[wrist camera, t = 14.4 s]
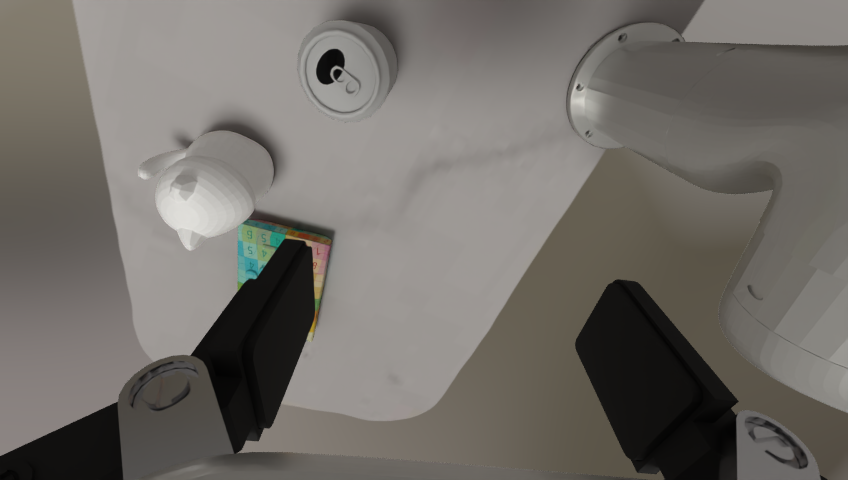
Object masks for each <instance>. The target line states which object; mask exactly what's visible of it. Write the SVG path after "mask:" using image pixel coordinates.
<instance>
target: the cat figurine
mask: <svg viewBox="0 0 848 480" xmlns="http://www.w3.org/2000/svg"><path fill="white" fill-rule="evenodd" d="M168 167H169V168H168ZM166 168H168V169H167V170H166V171H165V172H164V174H163V175H162V176H161V178H160V180H159V182H158V185H157V187H156V195H155V201H156V206H157V209H158V211H159V213H160V215H161V217H162V218H163V220H164V221H165V222H166V223H167V224H168V225H169V226H170V227H172V228H173V229H175V230H176V231H178V235H179V237H180V240H181V241H182V243H183V244H184V246H185V247H186V248H187V249H188V250H194V249H195V248H197V247H199V246H200V245H201V244H202V243H203V242H204V241H205V240H206V239H207V238H210V237H214V236H218V235H221V234H224V233H226V232H228V231H230V230H232V229H234V228H235V227H237V226H239V225H240V224H242V223H243V222H244V221H245V220H247V219H248V217H249V216H250V215H251V214H252V213H253V211H254V209H255V205H256V202H257V201H258V200H260V199H261V198H262V197H263V196H264V195H265V194H266V193H267V192H268V190H269V189H270V187H271V185H272V181H273V176H274V167H273V162H272V159H271V157H270V155H269V153H268V152H267V151H266V149H265V148H264V147H262V146H261V145H260V144H258V143H257V142H255V141H253V140H251V139H249V138H247V137H245V136H243V135H240V134H238V133H235V132H231V131H213V132H209V133H206V134H204V135H201V136H199V137H198V138H197V139H196V140H195V141H194V142H193V143H192V144H191V145H190V146H189V147H188V149H180V150H175V151H171V152H167V153H164V154H160V155H157V156H155V157H153V158H150V159H148V160H147V161H145V162H143V163H142V164H141V165H140V167H139V169H138V176H139V177H140V178H142V179H145V180H147V179H150V178H152V177H154V176H155V175H157V174H158V173H159V172H161V171H162V170H164V169H166Z"/></svg>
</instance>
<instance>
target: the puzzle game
mask: <svg viewBox="0 0 848 480" xmlns="http://www.w3.org/2000/svg"><path fill="white" fill-rule="evenodd" d="M286 238H287V239H295V240H303V241H305V242H306V245H307V246H311V247H312V252H313V272H314V293H315V318H314V321H313V324H312V327H311V329H310V332H309V334H308V337H307V339H306V341H309V342H312V340H313V337H314V333H315V328H316V323H317V318H318V312H319V307H320V302H321V297H322V291H323V286H324V281H325V276H326V270H327V265H328V260H329V255H330V249H331V244H332V240H330V239H329V238H328V237H326V236H323V235H319V234H315V233H311V232H307V231H303V230H299V229H296V228H292V227H288V226H284V225H280V224H276V223H272V222H268V221H264V220H260V219H247V220H245V221H244V222H243V223H242V224H240V225H239V226H238V290H239V289H240V288H241V286H242V285H243V284H244V283H245V282H246V281H247V280H248V279H256V278H257V277H258V275H259V274H260V272H261V271H262V270H263V268H264V267H265V265H266V264H267V262H268V261H269V260H270V258H271V257H272V255H273V254H274V252H275V251H276V250H277V248H278V247H279V245H280V244H281V242H282V241H283V240H284V239H286Z"/></svg>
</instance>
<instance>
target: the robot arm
mask: <svg viewBox="0 0 848 480" xmlns="http://www.w3.org/2000/svg"><path fill="white" fill-rule="evenodd" d="M619 36H620V40H618V37H619ZM577 84H579V86H578V88H576V86H577ZM567 112H568V117H569V121H570V123H571V125H572V127H573V129H574V130H575V132H576V133H577V134H578V135H579V136H580V137H581V138H582V139H583V140H585V141H586V142H588V143H590V144H591V145H593V146H597V147H600V148H607V149H616V148H623V147H627V148H629V149H631V150H633V151H634V152H636V153H638V154H640V155H641V156H643V157H645V158H647V159H648V160H650V161H652V162H654V163H655V164H657V165H659V166H661V167H662V168H664V169H666V170H668V171H669V172H671V173H673V174H675V175H677V176H679V177H681V178H682V179H684V180H686V181H688V182H690V183H692V184H693V185H695V186H698V187H700V188H702V189H705V190H708V191H712V192H716V193H724V194H748V193H757V192H764V191H769V190H773V191H772V195H771V198H770V200H769V202H768V204H767V206H766V208H765V210H764V212H763V214H762V216H761V218H760V223H759V224H758V226H757V228H756V230H755V232H754V234H753V236H752V238H751V239H750V241H749V243H748V245H747V247H746V249H745V251H744V253H743V254H742V256H741V258H740V260H739V262H738V264H737V266H736V268H735V269H734V271H733V273H732V275H731V278H730V280H729V282H728V283H727V286H726V288H725V290H724V292H723V295H722V297H721V300H720V304H719V313H718V315H719V322H720V326H721V328H722V331H723V333H724V335H725V336H726V338H727V339H728V341H729V342H730V344H731V345H732V346H733V347H734V348H735V349H736V350H737V351H738V352H739V353H740V354H741V355H742V356H743V357H744V358H745V359H747V360H748V361H749V362H751V363H752V364H753V365H754V366H756V367H757V368H759V369H760V370H761V371H763V372H765V373H766V374H768V375H769V376H771V377H773V378H774V379H776V380H778V381H779V382H781V383H783V384H785V385H787V386H789V387H791V388H793V389H794V390H796V391H798V392H801V393H803V394H805V395H807V396H809V397H811V398H814V399H816V400H818V401H821V402H823V403H825V404H827V405H829V406H832V407H834V408H837V409H839V410H842V411H844V412H847V413H848V45H845V46H802V45H759V44H730V43H699V42H685V40H684V38H683V37H682V36H681V35H680V34H679V33H678V32H677V31H676V30H674V29H672V28H671V27H669V26H667V25H664V24H659V23H637V24H631V25H628V26H625V27H622V28H620V29H618V30H616V31H614V32H612V33H610V34H608V35H607V36H606V37H604V38H603V39H602V40H600V41H599V42H598V43H597V44H596V45H595V46H594V47H593V48H592V49H591V50H590V51H589V52H588V53H587V54H586V55H585V57H584V58H583V60H582V61H581V62H580V64H579V65H578V67H577V69H576V71H575V73H574V75H573V77H572V80H571V83H570V86H569V90H568V96H567ZM587 131H588V132H587ZM586 132H587V133H586ZM585 133H586V134H585ZM314 318H315V293H314V272H313V252H312V247H311V246H307V245H306V242H305V241H303V240H295V239H287V238H286V239H284V240H283V241H282V242H281V244H280V245H279V247H278V248H277V250H276V251H275V252H274V254H273V255H272V257H271V258H270V260H269V261H268V262H267V264H266V265H265V267H264V268H263V270H262V271H261V272H260V274H259V275H258V277H257V278H256V279H248V280H247V281H246V282H245V283H244V284H243V285H242V286H241V288H240V289H239V290H238V292H237V293H236V294H235V296H234V297H233V298H232V300H231V301H230V303H229V304H228V305H227V307H226V308H225V309H224V311H223V312H222V313H221V315H220V316H219V317H218V319H217V320H216V322H215V323H214V324H213V326H212V327H211V328H210V330H209V331H208V332H207V334H206V335H205V336H204V338H203V339H202V340H201V342H200V343H199V345H198V346H197V347H196V349H195V350H194V351H193V353H192V354H191V355H190V356H188V355H177V356H170V357H167V358H163V359H160V360H158V361H156V362H153V363H151V364H149V365H147V366H146V367H144V368H143V369H141V370H140V371H138V372H137V373H136V374H134V376H133V377H132V378H131V379H130V380H129V381H128V382H127V383H126V384H125V385H124V387H123V389H122V391H121V392H120V394H119V399H118V402H116V403H114V404H112V405H110V406H107V407H105V408H103V409H101V410H99V411H97V412H94V413H92V414H90V415H88V416H86V417H84V418H82V419H80V420H77V421H75V422H73V423H71V424H69V425H66V426H64V427H62V428H60V429H58V430H56V431H53V432H51V433H49V434H47V435H45V436H43V437H41V438H39V439H36V440H34V441H32V442H30V443H28V444H25V445H23V446H21V447H19V448H17V449H15V450H13V451H10V452H8V453H6V454H4V455H2V456H0V480H646V479H634V478H623V477H611V476H598V475H588V474H576V473H564V472H551V471H540V470H526V469H515V468H502V467H490V466H478V465H465V464H451V463H439V462H425V461H412V460H400V459H386V458H373V457H360V456H343V455H342V456H341V455H325V454H308V453H290V452H289V453H288V452H284V453H283V452H249V453H238V452H239V451H241V450H242V448H243V446H244V444H245V441H246V440H249V441H259V439H260V437H261V434H262V432H263V429H264V428H270V427H271V426H272V424H273V422H274V419H275V417H276V415H277V412H278V410H279V407H280V405H281V402H282V400H283V397H284V395H285V392H286V390H287V387H288V385H289V382H290V380H291V377H292V374H293V372H294V369H295V367H296V364H297V362H298V359H299V357H300V354H301V352H302V349H303V347H304V344H305V342H306V339H307V337H308V334H309V332H310V329H311V327H312V324H313V321H314ZM575 346H576V351H577V353H578V355H579V357H580V359H581V362H582V364H583V366H584V368H585V370H586V372H587V375H588V376H589V379H590V381H591V383H592V385H593V387H594V389H595V392H596V394H597V396H598V398H599V400H600V402H601V405H602V406H603V409H604V411H605V413H606V415H607V417H608V419H609V422H610V424H611V426H612V428H613V430H614V432H615V435H616V437H617V439H618V441H619V443H620V445H621V447H622V449H623V451H624V453H625V455H626V456H627V457H628V458H629V459H631V461H632V463H633V465H634V467H635V469H636V471H637V472H638V473H648V474H657V473H658V472H659V471H661V472H662V474H663V476H664V480H827V479H826V478H824V477H822V476H821V475H819V470H818V466H817V463H816V461H815V459H814V456H813V455H812V454H811V452H810V451H809V450H808V448H807V447H806V446H805V445H804V444H803V443H802V442H801V441H800V440H799V439H798V437H797V436H795V435H794V434H793V433H792V432H790V431H789V430H788V429H787V428H786V427H784V426H783V425H781V424H779V423H778V422H776V421H775V420H773V419H771V418H769V417H767V416H765V415H763V414H761V413H758V412H754V411H747V410H746V411H745V410H743V411H741V412H739V413H738V414H737V415H735V413H734V412H733V411H732V410H731V408H732V407H733V406H734V405H735V404H736V403H737V402H738V400H737V399H736V398H735V397H734V395H733V394H732V393H731V392H730V391H729V389H728V388H727V387H726V386H725V385H724V384H723V383H722V381H721V380H720V379H719V378H718V376H717V375H716V374H715V373H714V372H713V370H712V369H711V368H710V367H709V366H708V364H707V363H706V362H705V361H704V360H703V359H702V357H701V356H700V355H699V354H698V353H697V351H696V350H695V349H694V348H693V347H692V346H691V345H690V343H689V342H688V341H687V340H686V338H685V337H684V336H683V335H682V334H681V333H680V331H679V330H678V329H677V328H676V327H675V326H674V324H673V323H672V322H671V321H670V320H669V318H668V317H667V316H666V315H665V314H664V312H663V311H662V310H661V309H660V308H659V306H658V305H657V304H656V303H655V302H654V300H653V299H652V298H651V297H650V296H649V295H648V294H647V292H646V291H645V290H644V289H643V287H642V286H641V285H640V284H639V283H638V282H635V281H627V280H615V281H614V282H613V283H610V284H609V285H608V286H607V287H606V289H605V291H604V292H603V294H602V296H601V298H600V299H599V301H598V303H597V304H596V306H595V308H594V310H593V311H592V313H591V315H590V317H589V318H588V320H587V322H586V323H585V325H584V327H583V329H582V330H581V332H580V334H579V336H578V337H577V339H576V343H575ZM236 453H237V454H236Z"/></svg>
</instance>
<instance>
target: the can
mask: <svg viewBox="0 0 848 480" xmlns="http://www.w3.org/2000/svg"><path fill="white" fill-rule="evenodd" d="M297 71H298V75H299V80H300V84H301V87H302V89H303V91H304V92H305V94H306V96H307V98H308V100H309V101H310V102H311V103H312V104H313V105H314V106H315V107H316V108H317V110H318V111H320V112H321V113H323V114H324V115H326V116H328V117H329V118H331V119H334V120H337V121H341V122H345V123H346V122H359V121H361V120H364V119H366V118H369V117H371V116H372V115H373V114H374V113H375V112H376V111H377V110H378V109H379V108H380V107H381V106H382V104H383V102H384V101H385V99H386V97H387V96H388V94H389V92H390V90H391V89H392V87H393V85H394V83H395V81H396V76H397V71H398V67H397V57H396V54H395V51H394V49H393V46H392V44H391V43H390V42H389V40H388V39H387V37H386V36H385V35H384V34H383V33H382V32H380V31H379V30H377V29H376V28H375V27H372V26H369V25H366V24H363V23H357V22H351V21H345V20H336V21H326V22H324V23H322V24H320V25H318V26H316V27H314V28H313V29H312V30H311V31H310V32H309V34H308V35H307V36H306V37H305V38H304V40H303V42H302V45H301V47H300V50H299V53H298V64H297Z"/></svg>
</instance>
